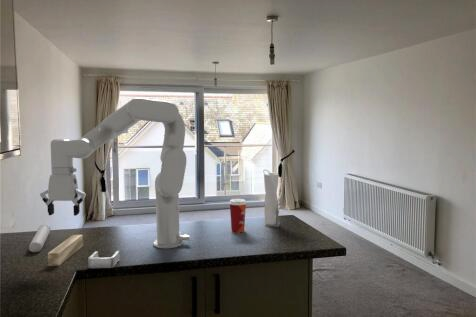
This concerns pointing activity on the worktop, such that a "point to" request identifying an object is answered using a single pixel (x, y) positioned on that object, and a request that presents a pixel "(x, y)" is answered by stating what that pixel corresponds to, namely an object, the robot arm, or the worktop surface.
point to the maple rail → (65, 250)
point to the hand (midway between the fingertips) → (63, 214)
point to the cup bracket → (103, 261)
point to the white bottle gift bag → (271, 199)
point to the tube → (39, 238)
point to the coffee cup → (237, 214)
